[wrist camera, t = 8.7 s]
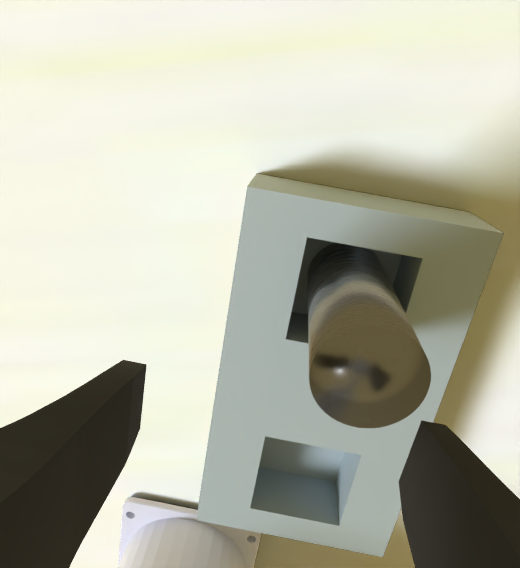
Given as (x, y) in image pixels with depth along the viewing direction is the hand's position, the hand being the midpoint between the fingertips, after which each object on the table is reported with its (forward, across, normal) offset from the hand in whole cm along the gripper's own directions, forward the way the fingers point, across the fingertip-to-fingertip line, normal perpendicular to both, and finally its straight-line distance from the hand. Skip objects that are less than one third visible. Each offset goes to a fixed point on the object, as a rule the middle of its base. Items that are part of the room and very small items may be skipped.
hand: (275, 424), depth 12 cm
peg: (+9, -2, -1) cm, 9 cm away
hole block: (+10, -2, +3) cm, 11 cm away
